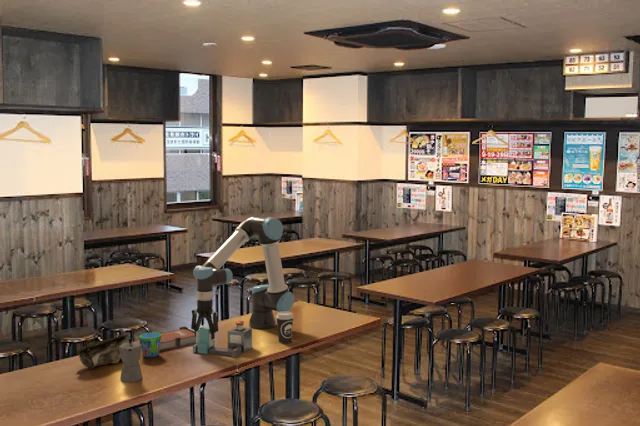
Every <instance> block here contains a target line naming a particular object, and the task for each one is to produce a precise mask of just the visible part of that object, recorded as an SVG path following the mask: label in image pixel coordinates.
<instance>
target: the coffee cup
mask: <svg viewBox="0 0 640 426" xmlns="http://www.w3.org/2000/svg"><path fill="white" fill-rule="evenodd" d="M275 319H276V325H277V336H278V343H281V344H289V343H291V342H292V338H293V335H292V334H293V325H294V324H293V323H294V319H295V316H294V313H293V312H292V311H283V312H278V311H277V313H276V316H275Z"/></svg>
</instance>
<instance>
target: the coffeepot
mask: <svg viewBox="0 0 640 426" xmlns="http://www.w3.org/2000/svg"><path fill="white" fill-rule="evenodd" d="M127 340H128V343H124V344H122V345H120V346H119V348H120V353H121V359H120V360H121V361H122V365H121V371H120V381H121V382H122V383H135V382H139V381H141V380H142V379H143V373H142V368H141V364H140V359H141V353H142V348H141V347H142V345H141V344H140V342H134V339H133V338H129V339H127Z"/></svg>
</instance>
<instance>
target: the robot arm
mask: <svg viewBox="0 0 640 426" xmlns="http://www.w3.org/2000/svg"><path fill="white" fill-rule="evenodd" d="M283 226H284V225H283V223H282V221H280V219H278V218H277V217H273V216H262V215H252V216H250V217H248V218H247V219H244V221H242V222H241V223H240V224H239V225H238V226H236V228H235V229H234V232H233V233H231V236H229V237H228V239H226V240H225V242H224V243H223V244H221V246H220V247H218V249H217V250H215V252H214V253H213V254H212V255H211V256H210V257H209V258H208V259H207V260H206V261H205V262H204V263H203V264H202V265H196V266H195V267H194V269H193V270H192V274H193V277H194V278H195V279H196V280H197V281H196V287H197V288H196V298H197V301H196V307H197V308H194V309H192V310H191V324H190V328H191V329H190V330H192V331H195V337H196V343H195V344H197V345H198V343H199V342H200V336H199V328H201V325H202V321H203V319H205V321H206V322H207V325H208V327H209V328H210V332H211V333H209V346H212V345H213V340H215V339H216V333H218V332H219V321H218V315H219V312H218V311H214V310H213V304H214V303H213V299H214V295H213V291H214V290H213V289H214V287H215V286H218V285H219V286H220V285H221V286H222V285H226V284H229V283H231V282H232V280H233V279H234V278H233V275H234V274H233V272H232V270H231V269H229V268H222V266H223V265H225V263H226V262H227V261H228V260H229V259H230V258H231V257H232V256H233V255H234V254H235V253H236V251H237V250H239V248H241V247H242V245H243V244H245V243H247V242H249V241H250V240H251V239H253V238H257V239H258V244H259V245H261V246H262V251H263V252H262V253H263V257H264V263H265V269H266V275H267V280H268V284H260V285H256V286H255V285H254V286H253V287H252V289H251V314H250V315H251V316H250V317H249V320H248V326H249V328H252V329H259V330H261V329H262V330H264V329H265V330H266V329H272V328H274V327H276V325H277V319H276V316H275V315H274V312H277V313H278V312H283V311H287V312H290V310H291V309H292V307H293V306H294V303H295V296H294V294H293V293H292V292H291V291H289V286H288V285H287V284H286V282H285V277H284V270H283V266H282V265H283V264H282V259H281V255H280V253H281V252H280V247H279V243H280V241H281V238H282V236H283V233H284V227H283Z"/></svg>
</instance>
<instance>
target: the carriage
mask: <svg viewBox="0 0 640 426" xmlns="http://www.w3.org/2000/svg"><path fill="white" fill-rule="evenodd" d="M209 333H211V332H210V328H209V326H204V325H203V326H200V327H199V336H200V342H199V343H198V352H197V354H203V355H204V354H205V355H208V349H209V348H211V347H216V345H215V344H216V343H215V341H216V340H215V339H213V345H212V346H209Z"/></svg>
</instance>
